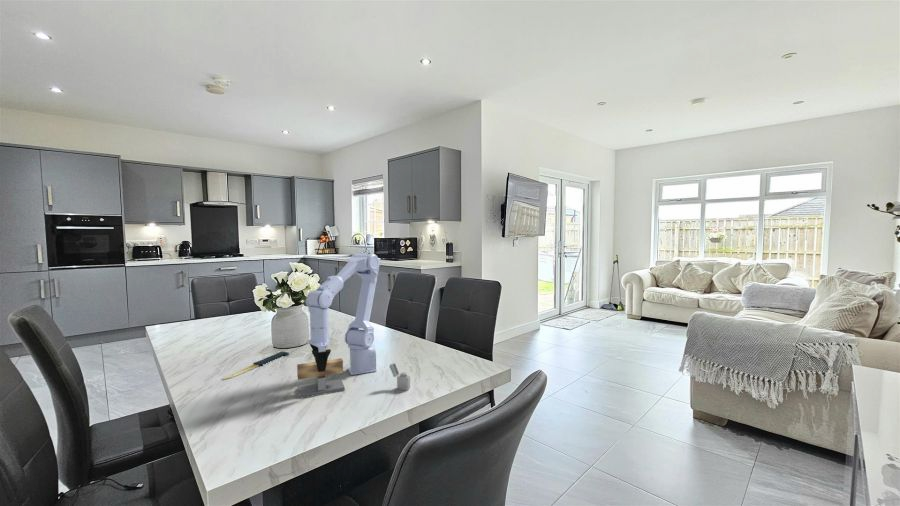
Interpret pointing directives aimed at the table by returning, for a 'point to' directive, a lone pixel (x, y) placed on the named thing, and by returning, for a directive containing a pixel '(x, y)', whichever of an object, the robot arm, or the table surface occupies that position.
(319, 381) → the stand
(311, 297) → the robot arm
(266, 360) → the knife
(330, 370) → the bar
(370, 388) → the table surface
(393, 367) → the lighter
